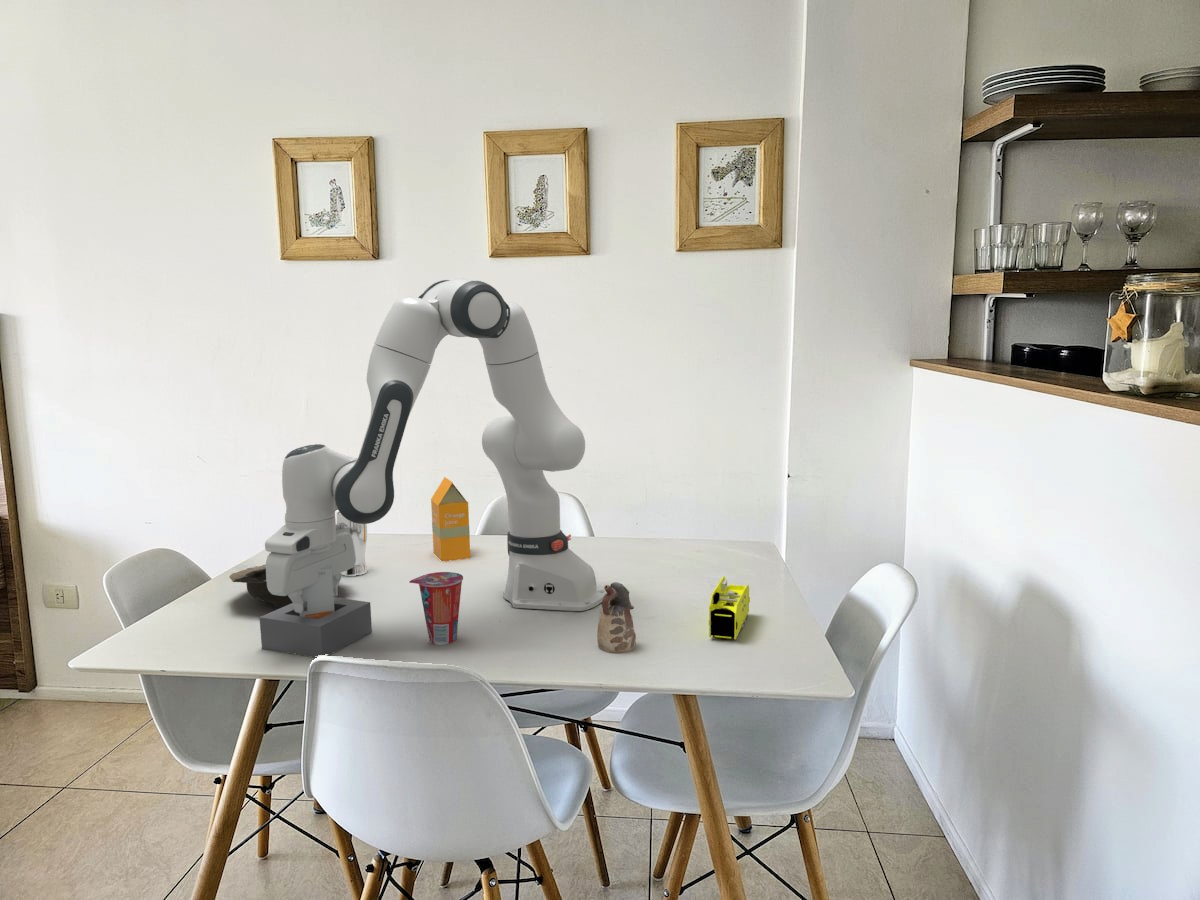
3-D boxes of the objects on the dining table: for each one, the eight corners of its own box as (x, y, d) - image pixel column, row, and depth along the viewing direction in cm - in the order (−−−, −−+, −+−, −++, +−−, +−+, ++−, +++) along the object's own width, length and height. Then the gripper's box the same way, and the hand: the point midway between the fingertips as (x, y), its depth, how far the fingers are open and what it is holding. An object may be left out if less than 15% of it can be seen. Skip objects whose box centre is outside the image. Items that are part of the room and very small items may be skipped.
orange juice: (462, 549, 219) (459, 475, 217) (470, 558, 211) (467, 481, 209) (432, 553, 216) (429, 478, 213) (440, 562, 208) (437, 483, 205)
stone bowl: (307, 621, 167) (300, 576, 165) (206, 619, 174) (199, 576, 173) (374, 583, 190) (369, 543, 189) (283, 582, 198) (277, 545, 196)
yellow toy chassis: (722, 612, 169) (722, 572, 168) (750, 615, 167) (750, 575, 166) (706, 640, 154) (706, 597, 153) (737, 644, 152) (737, 600, 151)
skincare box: (303, 635, 154) (298, 572, 152) (300, 628, 157) (295, 567, 156) (336, 629, 156) (332, 567, 154) (333, 622, 160) (328, 562, 158)
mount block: (371, 632, 161) (370, 602, 160) (322, 658, 148) (320, 626, 147) (314, 623, 166) (312, 594, 165) (261, 648, 153) (259, 617, 152)
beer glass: (364, 577, 196) (360, 515, 194) (335, 577, 197) (331, 515, 194) (373, 568, 203) (369, 508, 201) (344, 568, 204) (341, 509, 201)
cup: (450, 628, 162) (447, 568, 160) (474, 639, 156) (471, 578, 154) (407, 640, 156) (404, 578, 154) (430, 653, 150) (427, 589, 148)
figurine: (644, 647, 151) (643, 583, 149) (611, 656, 147) (610, 591, 145) (621, 635, 157) (621, 574, 155) (590, 643, 153) (588, 581, 151)
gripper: (335, 518, 165) (339, 586, 167) (257, 544, 146) (263, 620, 148) (361, 521, 162) (365, 589, 164) (285, 547, 144) (291, 624, 146)
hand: (316, 604), depth 156 cm, fingers closed on skincare box, 7 cm apart
